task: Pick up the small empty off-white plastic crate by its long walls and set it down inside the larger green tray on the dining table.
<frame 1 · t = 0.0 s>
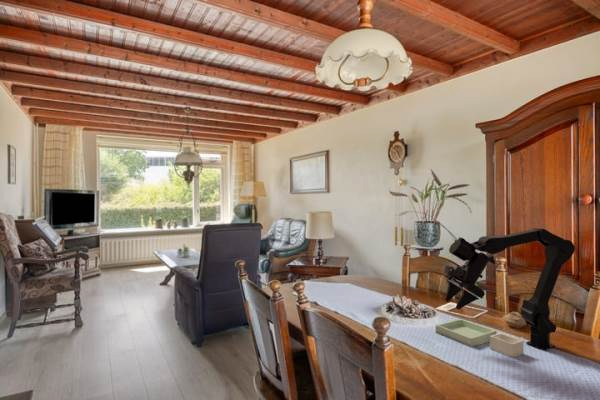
hand: (451, 304, 124), 15 cm above the table, tool tilted 35°, fingers open, 9 cm apart
photo frame: (461, 311, 163), on the table
pottery oil lamp: (516, 325, 144), on the table
green tray: (465, 335, 133), on the table
small crate: (506, 351, 119), on the table
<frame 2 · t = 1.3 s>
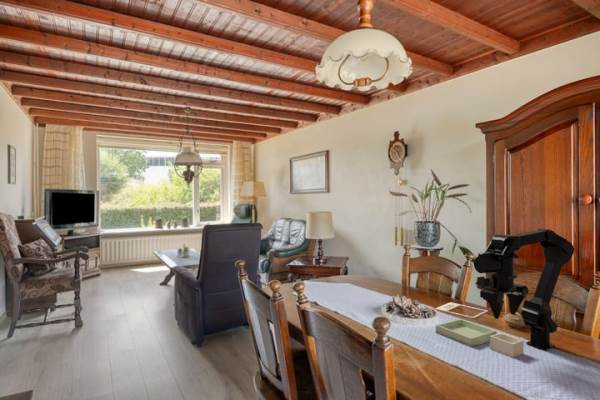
hand: (504, 316, 119), 12 cm above the table, tool pointing down, fingers open, 9 cm apart
nothing on the table moved.
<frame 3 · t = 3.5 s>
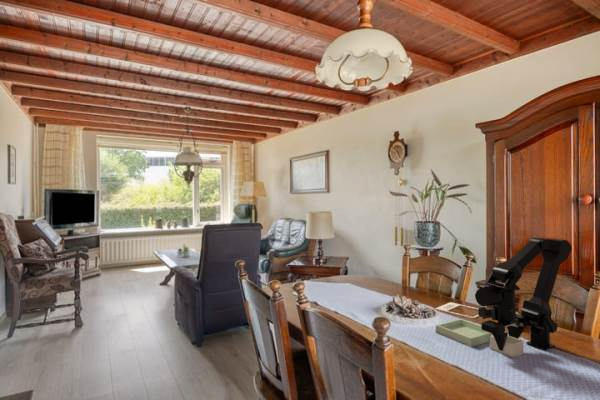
hand: (506, 348, 119), 1 cm above the table, tool pointing down, fingers closed on small crate, 6 cm apart
small crate: (506, 351, 119), on the table, touching gripper
everything else where it was.
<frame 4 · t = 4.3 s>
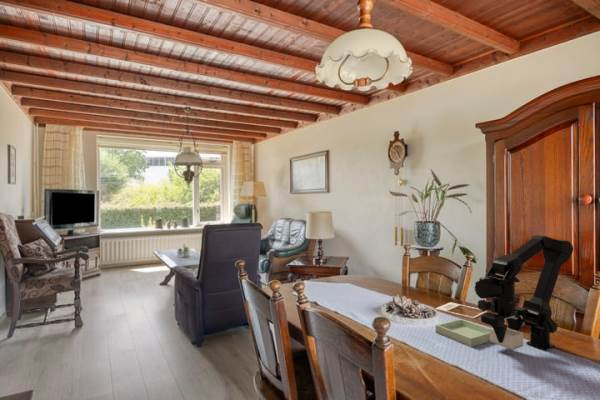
hand: (506, 340, 119), 4 cm above the table, tool pointing down, fingers closed on small crate, 6 cm apart
small crate: (506, 343, 119), point 3 cm above the table, touching gripper
everything else where it was.
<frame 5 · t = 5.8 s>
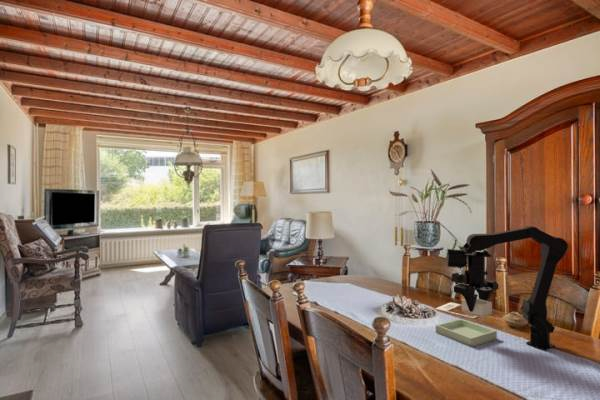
hand: (476, 310, 129), 11 cm above the table, tool pointing down, fingers closed on small crate, 6 cm apart
small crate: (476, 312, 128), point 10 cm above the table, touching gripper
everything else where it was.
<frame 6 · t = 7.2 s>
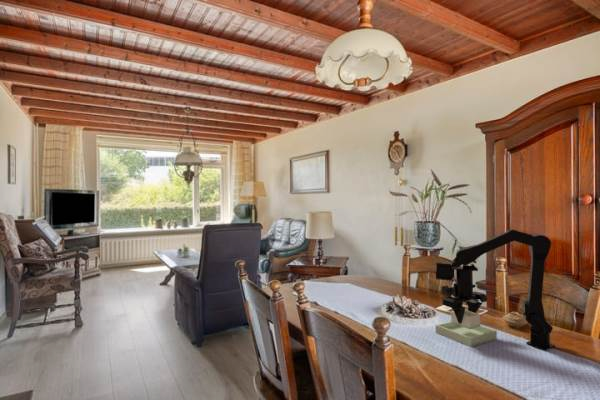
hand: (465, 321, 133), 5 cm above the table, tool pointing down, fingers closed on small crate, 6 cm apart
small crate: (465, 324, 133), point 4 cm above the table, touching gripper
everything else where it was.
when the fingers open (3 cm above the table, at t = 8.5 s): small crate drops 1 cm, resting on green tray.
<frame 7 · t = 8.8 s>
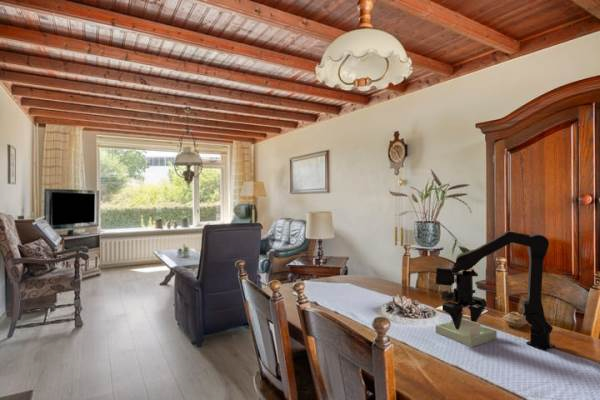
hand: (465, 327, 133), 3 cm above the table, tool pointing down, fingers open, 9 cm apart
green tray: (465, 335, 133), on the table, touching small crate
small crate: (465, 333, 133), point 1 cm above the table, touching green tray
everything else where it was.
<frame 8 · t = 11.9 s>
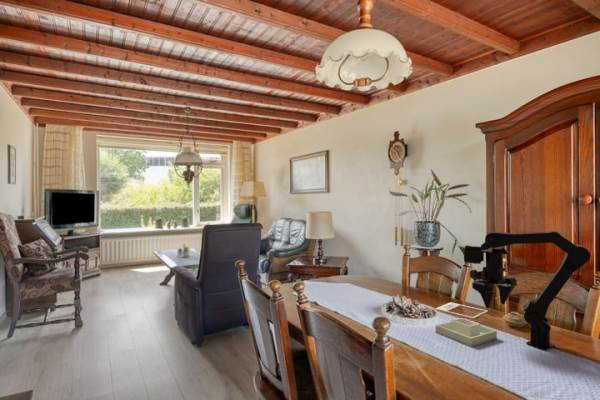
hand: (495, 306, 131), 12 cm above the table, tool pointing down, fingers open, 9 cm apart
nothing on the table moved.
at the end: small crate inside the target area on the green tray (0.1 cm from its centre), point 0.8 cm above the green tray's base; small crate tilted 0°; the gripper is holding nothing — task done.
